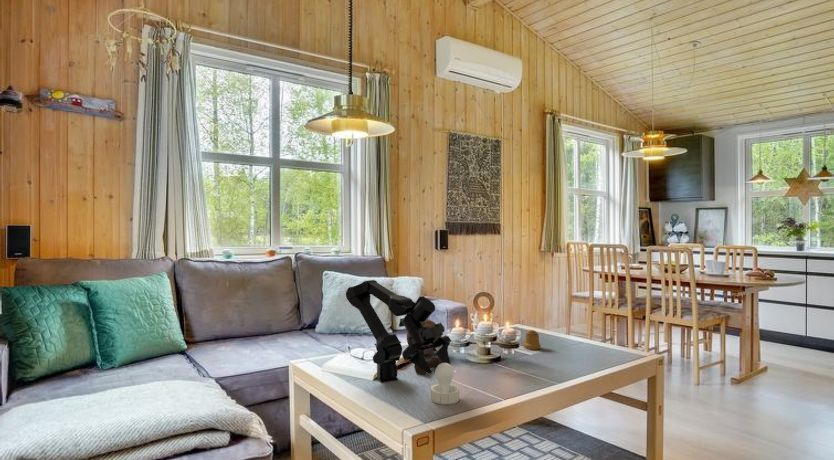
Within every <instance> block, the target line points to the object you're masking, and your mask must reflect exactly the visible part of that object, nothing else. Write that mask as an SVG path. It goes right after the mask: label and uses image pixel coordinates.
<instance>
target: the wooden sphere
mask: <svg viewBox="0 0 834 460" xmlns="http://www.w3.org/2000/svg"><path fill="white" fill-rule="evenodd" d="M422 324H423V325H424V327H429V328H431V327H435V324H437V323H436V322H434V321H433V320H431V319H429V318H428V319H427V320H426V321H425V322H422ZM442 336H443V335H439V336H436V339H435V340H434V341H433V342H435V341H436V340H437V339H438V338H439V337H442ZM409 338H410V335H409V333H408V331H406V343H407V346H409V345H411V344H414V342H413V340H412V341H410V340H409ZM429 347H430V346H429ZM435 353H436V352H435V351H434V350H433V349H430V350H427V351H424V356H428V355H432V354H435Z"/></svg>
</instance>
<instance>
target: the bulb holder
mask: <svg viewBox="0 0 834 460" xmlns="http://www.w3.org/2000/svg"><path fill="white" fill-rule="evenodd" d="M430 401H431V402H432V403H435V404H438V405H442V406H447V405H449V406H450V405H451V406H452V405H454V404H457V403H459V402H460V387H458V386H457V385H455V384H452V383H450V389H449V393H441V390H440V385H439V383H438V384H433V385H431V386H430Z"/></svg>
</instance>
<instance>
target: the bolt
mask: <svg viewBox="0 0 834 460" xmlns="http://www.w3.org/2000/svg"><path fill="white" fill-rule="evenodd" d="M426 361H427V363H428V365H429V367H430V369H431V370H432V369H436V368H437V366H438V365H439V364H441V363H443V362H442V361H441V360H440V358H439V357H438V356H437V355H434V356H431V357H430V359H428V360H426ZM413 366H414V367H413V368H414V371H415V373H416V374H417V375H422V376H424V375H426V374H427V372H426V371H424V370H423V369H421V368H420V367H418V366H417V365H415V364H413Z"/></svg>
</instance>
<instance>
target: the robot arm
mask: <svg viewBox="0 0 834 460" xmlns="http://www.w3.org/2000/svg"><path fill="white" fill-rule="evenodd" d="M371 296H373V297H375V298H376V299H378V300H379V301H380V302H382V303H383V304H385V305H387V307H388V310H389V312H391V314H393V315H394V317H402V316H403V318H400V319H399V324H398V327H399V328H402V327H404V328H405V330H406V332H408V333H409V335H410V338H409V340H410V341H412V340H413V342H414V344H411V345H407V347H406V348H405V349H404V350H403V346H402V341H400V339H399V338H398V335H396V334H395V333H394V334H390V333H389V332H388V330H387V329H386V327H385V325H384V324H383V322H382V321H381V318H380V317H379V315H378V314H377V311H376V310H375V308H374V307H373V305H372V303H371ZM345 298H346V300H347V301H348V303H349V304H350V305H351V306H352V307H354V308H355V309H357V310H358V311H359V313H360V314H361V317H362V318H363V319H364V321H365V323H366V324H367V326H368V329H369V330H370V332H371V334H372V335H373V337H374V339H375V341H376V343H375V344H376V345H375V348H376V352H375V354H373V356H372V361H373V363H374V364H376V375H377V378H376V379H377V380H378V381H379V382H380V383H385V382H391V381H392V382H393V381H398V380H399V379H398V365H397V362H398V361H400V360H401V355H402V358H403V360H404V361H405V362H407V361H408V363H411V364H413V365H417V366H418V367H420V368H421V369H423V370H424V371H426V374H428V375H429V374H432V372H433V371H432V368H431V369H430V367H429V365H428V363H427V361H428V360H426V357H425V355H424V351H427V350H430V349H433V350H434V351H435V352H434V354H435V356H437V357H439V358H440V360H441V361H442V362H443V363H448V364H450V365H451V361H450V356H449V351H448V349H449V346H450V345H451V344H450V343H451V342H452V340H451V338H450V337H449V335H444V332H445V331H446V329H445V326H444V325H443V324H442V323H441V322H438V323H436V324H435V327H431V328H429V327H424V325H423V324H422V322H425V321H426V320H427V319H428V320H429V318H430V316H431V315H432V314H433V313H435V311H436V306H435V303H434V302H432V301H431V300H430V299H428V298H426V297H425V295H422V296H419V297H418V299H417V300H416V301H414V300H413V299H412V298H410V297H408V296H405V295H401V294H400V295H399V294H396V293H395V292H393V291H391V290H389V289H388V288H386V287H385V286H383V284H382V285H381V284H380V283H379V282H378V281H377V280H375V279H371V280H364V281H363V282H361V283H359V284H357V285H354V286H350V287H349V286H348V288H347V290H346V291H345ZM439 335H442V337H439V338H438V339H437V340H436V341H435V342H433V341H434V340H435V339H436V336H439ZM429 346H430V347H429Z"/></svg>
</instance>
